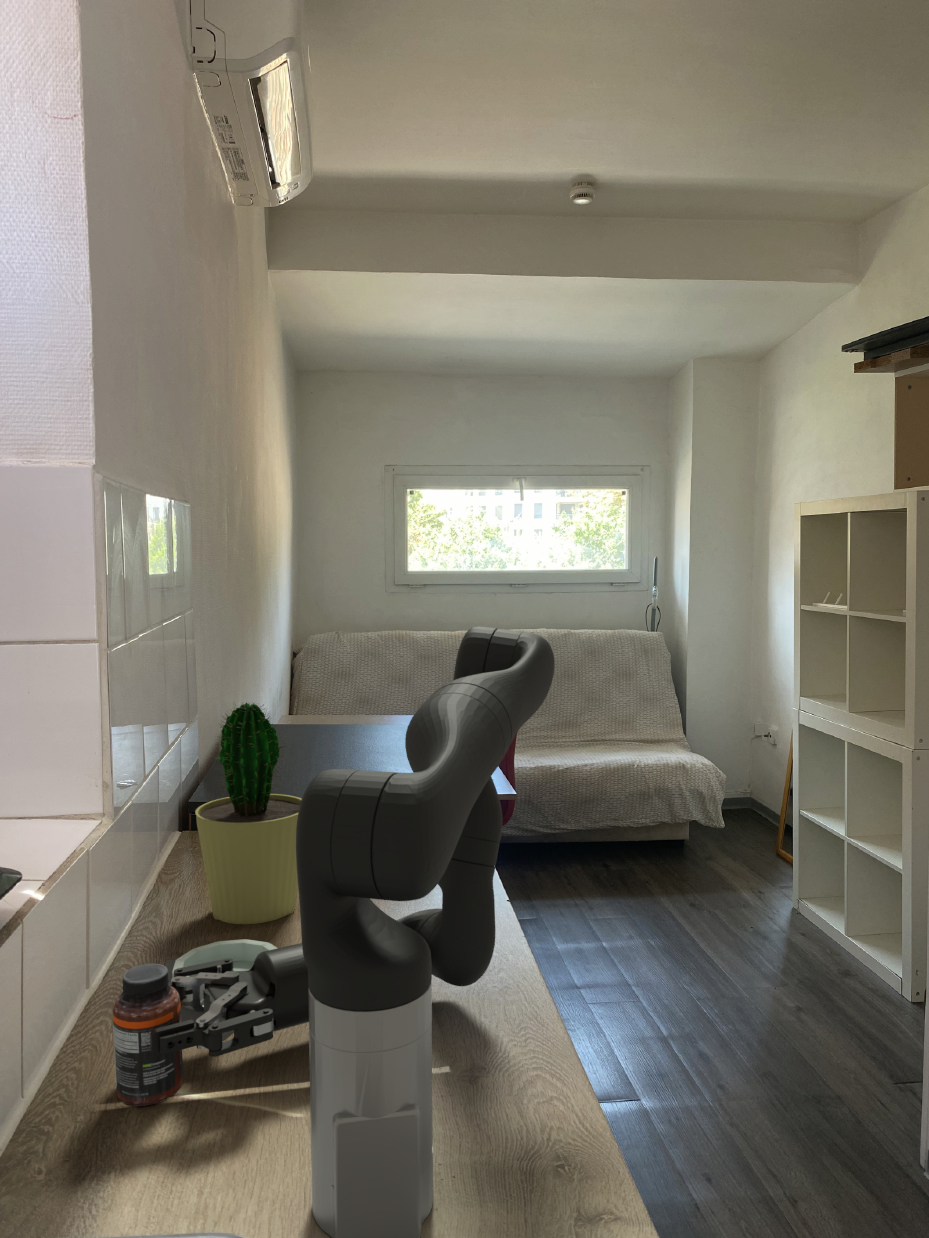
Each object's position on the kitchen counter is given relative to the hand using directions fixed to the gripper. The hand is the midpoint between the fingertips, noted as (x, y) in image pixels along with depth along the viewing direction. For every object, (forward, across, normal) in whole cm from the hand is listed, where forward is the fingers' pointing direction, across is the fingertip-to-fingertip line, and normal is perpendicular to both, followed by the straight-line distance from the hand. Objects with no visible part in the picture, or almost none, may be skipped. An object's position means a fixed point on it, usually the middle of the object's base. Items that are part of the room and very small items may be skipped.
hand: (141, 1022), depth 85 cm
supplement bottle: (-1, 0, +7) cm, 7 cm away
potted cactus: (-23, -38, +7) cm, 45 cm away
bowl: (-13, -16, +6) cm, 21 cm away
